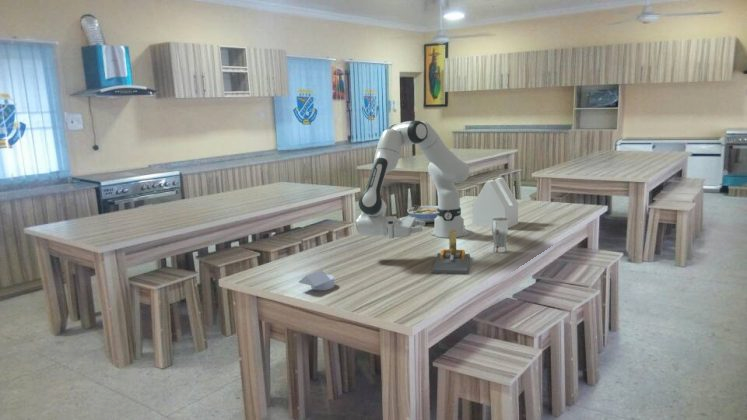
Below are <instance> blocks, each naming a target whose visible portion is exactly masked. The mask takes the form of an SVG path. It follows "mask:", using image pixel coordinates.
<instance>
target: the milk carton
mask: <svg viewBox="0 0 747 420" xmlns="http://www.w3.org/2000/svg"><path fill="white" fill-rule="evenodd" d="M471 206H472V209H471V211H472V227H473V226H475V227H481V228H489V229H492V220H493V218H507V221H508V229H510V228H512V227H514V226H517V225H518V224H519V203H518V201H517V199H516V197H515V195H514V194H513V192H512V190H511V189H510V187H509V185H508V183H507V182H506V180H505V178H504V177H498V178H495V179H490V180H488V181H487V180H486V182H485V183H484V185H483V187H482V188H481V189H480V191H479V193H478V195H477V196H476V199H475V200H474V201H473V204H472V205H471Z"/></svg>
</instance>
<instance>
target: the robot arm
mask: <svg viewBox="0 0 747 420" xmlns="http://www.w3.org/2000/svg"><path fill="white" fill-rule="evenodd" d="M415 144H416V146H417V147H418V148H419V150H420V151H421V152H422V154H423V155H424V157H425V158H426V160H427V161H429V164H428V166H427V171H428V174H429V176H430V177H431V179H432V181H433V183H434V186H435V188H436V194H437V206H438V208H437V215H438V216H437V217H436V218H435V221H434V230H433V231H431V233H430V235H432V236H436V237H437V238H438V237H439V238H446V239H449V231H450V230H455V231H456V238H459V237H463V236H468V235H469V232H468V231H467V229H466V228H465V220H464V217H463V216H462V215H461V214H462V208H461V198H460V196H461V195H460V194H461V193H460V191H459V190H458V188H457V187H456V185H455V183H460V182H464V181H466V180H467V179H468V178H469V176H470V172H471V170H470V166H469V165H468V164H467V163H466V162H465V161H463V160H462V159H460V158H459V157H457V155H455V154H454V152H452V151H451V150H450V148H448V147H447V146H446V144H445V143H444V141H443V140H442V139H441V137H440V136H439V134H438V133H437V131H436V130H435V129H434V128H433V127H432V125H430V124H429V123H428V122H427V121H425V120H407V121H402V122H399V123H396V124H395V123H394V124H393V125H391V126H389V127H388V128H387V129H385V130H383V132H382V133H381V135H380V136H379V140H378V142H377V145H376V149H375V154H374V160H373V164H372V168H371V172H370V173H369V176H368V177H369V178H368V182H367V185H366V188H365V189H364V191H363V192H362V194H361V195H360V196H359V198H358V207H359V210H360V211H361V213H360V214H359V215H358V217H357V218H356V220H355V226H356V230H357V233H358V234H359V235H361V236H364V237H379V236H381V237H387V238H388V239H394V238H408V237H410V236H411V234H412V233H413V234H414V233H418V232H419V233H421V232H423V227H425V225H426V223H425V221H418V220H416V218H415V217H411V216H406V217H405V216H404V217H399V218H398V217H397V215H396V216H395V215H394V216H386V214H387V213H386V212H387V209H388V208H387V204H386V202H385V200H384V199H383V198H382V195H381V193H382V187H383V185H384V180H385V177H386V174H388V173H389V172H392V171H394V170H395V169H396V168H397V165H398V163H399V159H400V156H401V150H402V147H403V146H404V147H407V146H411V145H415Z"/></svg>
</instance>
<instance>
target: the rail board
mask: <svg viewBox="0 0 747 420" xmlns="http://www.w3.org/2000/svg"><path fill="white" fill-rule="evenodd" d="M446 252H449V248H448V249H442V250H441V252H439V253H437V254H436V258H435V260H434V264H433V266H432V269H431V274H442V273H452V274H455V275H468V273H467V272H468V271H469V265H470V260H471V254H470V253H466V250H464V249H456V252H460V257H454V259H453V261H450V257H446ZM452 274H451V275H452Z"/></svg>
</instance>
